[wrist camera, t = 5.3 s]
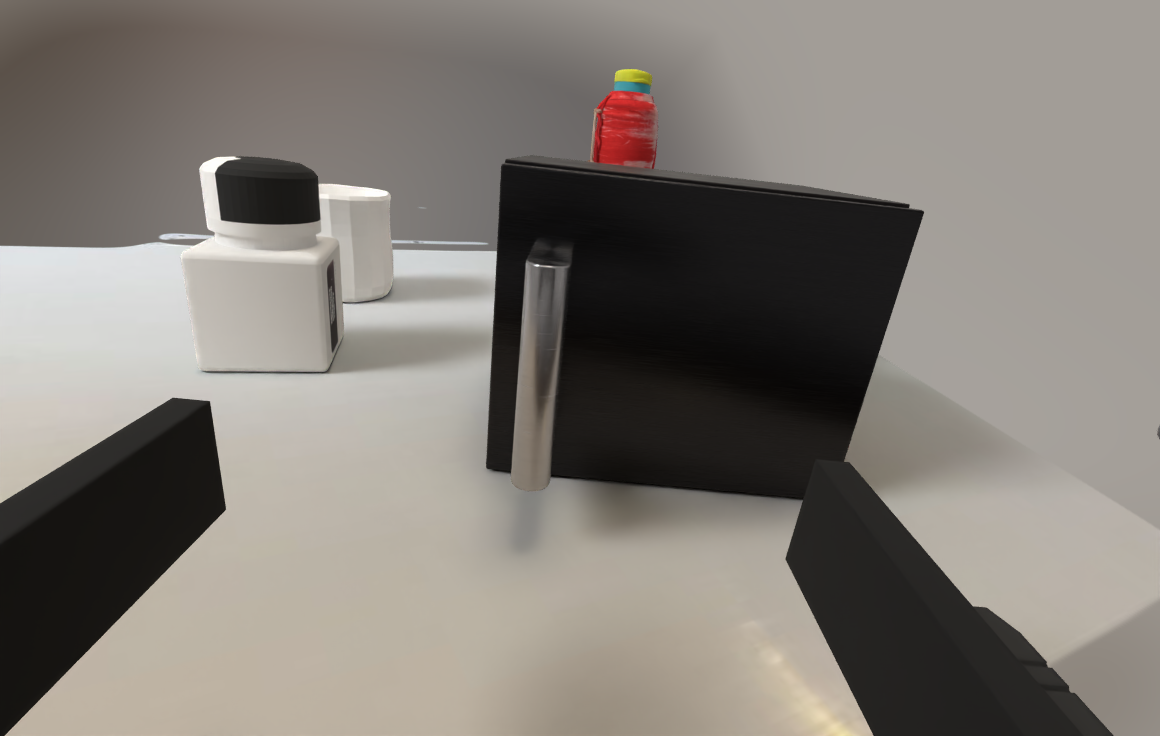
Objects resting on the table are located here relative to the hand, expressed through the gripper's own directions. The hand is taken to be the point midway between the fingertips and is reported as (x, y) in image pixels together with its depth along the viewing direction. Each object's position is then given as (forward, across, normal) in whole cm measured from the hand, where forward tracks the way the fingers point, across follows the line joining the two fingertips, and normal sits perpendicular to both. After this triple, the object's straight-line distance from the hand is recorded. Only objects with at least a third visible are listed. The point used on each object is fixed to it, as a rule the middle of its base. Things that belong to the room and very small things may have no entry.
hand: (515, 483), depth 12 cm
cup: (+45, -21, -9) cm, 50 cm away
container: (+27, -19, -9) cm, 34 cm away
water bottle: (+64, +5, -9) cm, 65 cm away
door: (+12, +6, -9) cm, 16 cm away
